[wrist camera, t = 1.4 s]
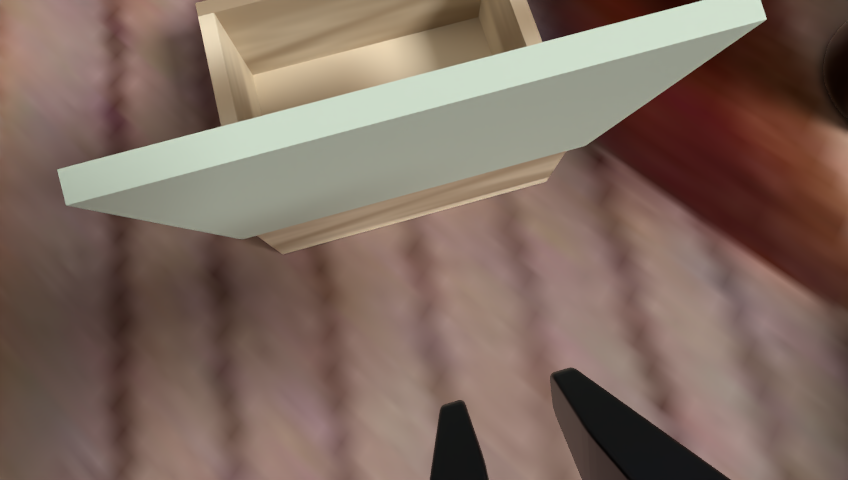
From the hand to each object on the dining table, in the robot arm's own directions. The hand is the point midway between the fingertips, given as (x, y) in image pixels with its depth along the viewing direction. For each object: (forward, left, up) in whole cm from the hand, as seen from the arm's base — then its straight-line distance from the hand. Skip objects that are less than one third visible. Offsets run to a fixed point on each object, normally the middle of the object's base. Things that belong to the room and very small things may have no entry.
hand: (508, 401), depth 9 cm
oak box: (+11, -5, -13) cm, 17 cm away
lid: (+6, -3, -3) cm, 7 cm away
